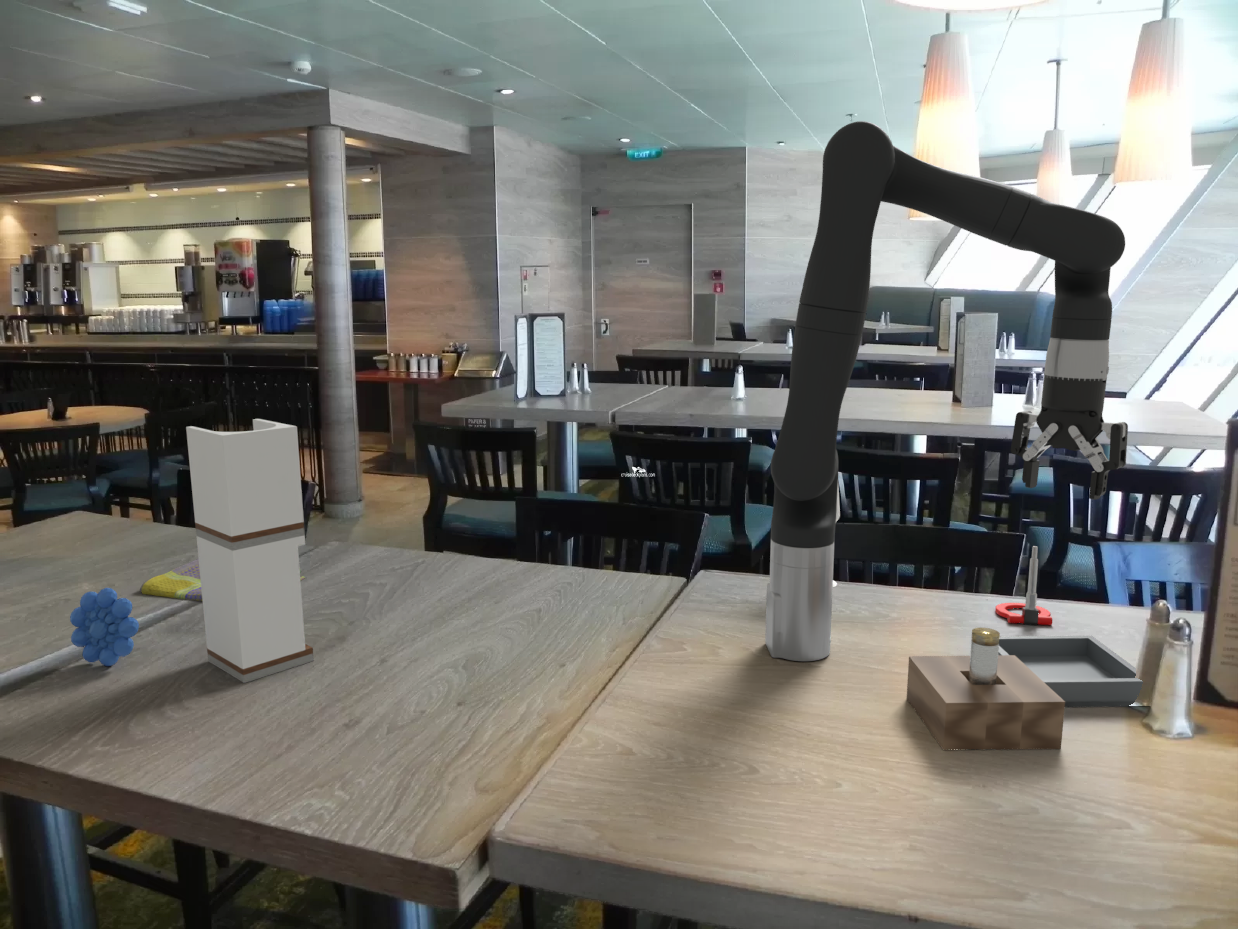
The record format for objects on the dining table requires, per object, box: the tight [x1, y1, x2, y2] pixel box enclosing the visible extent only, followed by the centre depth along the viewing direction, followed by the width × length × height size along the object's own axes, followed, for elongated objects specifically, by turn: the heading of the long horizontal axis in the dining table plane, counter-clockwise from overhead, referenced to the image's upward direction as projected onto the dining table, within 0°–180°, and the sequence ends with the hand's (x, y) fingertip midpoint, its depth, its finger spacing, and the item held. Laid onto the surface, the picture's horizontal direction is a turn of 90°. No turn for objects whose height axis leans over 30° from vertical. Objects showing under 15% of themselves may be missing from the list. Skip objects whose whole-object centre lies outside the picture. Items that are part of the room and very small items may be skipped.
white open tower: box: [185, 418, 315, 684], centre depth 136 cm, size 11×11×35 cm
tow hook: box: [994, 545, 1053, 626], centre depth 155 cm, size 8×13×9 cm
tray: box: [998, 635, 1143, 708], centre depth 130 cm, size 16×16×4 cm
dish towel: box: [139, 558, 306, 602], centre depth 174 cm, size 18×24×3 cm
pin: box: [969, 627, 1001, 685], centre depth 118 cm, size 3×3×12 cm
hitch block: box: [906, 655, 1066, 751], centre depth 118 cm, size 14×14×6 cm
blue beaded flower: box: [69, 587, 140, 667], centre depth 138 cm, size 12×7×12 cm, turn 75°
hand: (1062, 492), depth 128 cm, fingers open, 8 cm apart
